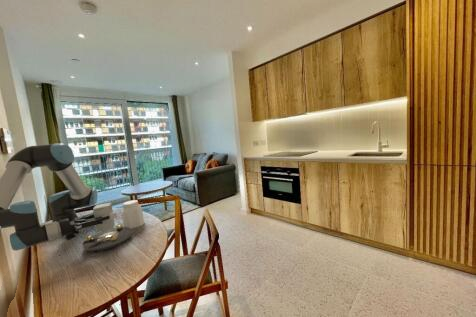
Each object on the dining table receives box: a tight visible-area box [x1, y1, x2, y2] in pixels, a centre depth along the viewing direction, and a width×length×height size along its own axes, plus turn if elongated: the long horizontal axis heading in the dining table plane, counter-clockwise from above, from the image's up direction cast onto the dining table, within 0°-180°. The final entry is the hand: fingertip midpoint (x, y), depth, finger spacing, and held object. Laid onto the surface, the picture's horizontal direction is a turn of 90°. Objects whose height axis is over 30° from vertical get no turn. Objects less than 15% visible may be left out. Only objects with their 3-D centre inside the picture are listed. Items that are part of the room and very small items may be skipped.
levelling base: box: [82, 223, 133, 253], centre depth 111 cm, size 22×22×6 cm
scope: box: [61, 213, 80, 240], centre depth 123 cm, size 8×14×10 cm
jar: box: [121, 199, 145, 230], centre depth 131 cm, size 12×10×15 cm
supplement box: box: [92, 202, 116, 234], centre depth 110 cm, size 7×7×13 cm
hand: (113, 212), depth 113 cm, fingers closed on supplement box, 9 cm apart
